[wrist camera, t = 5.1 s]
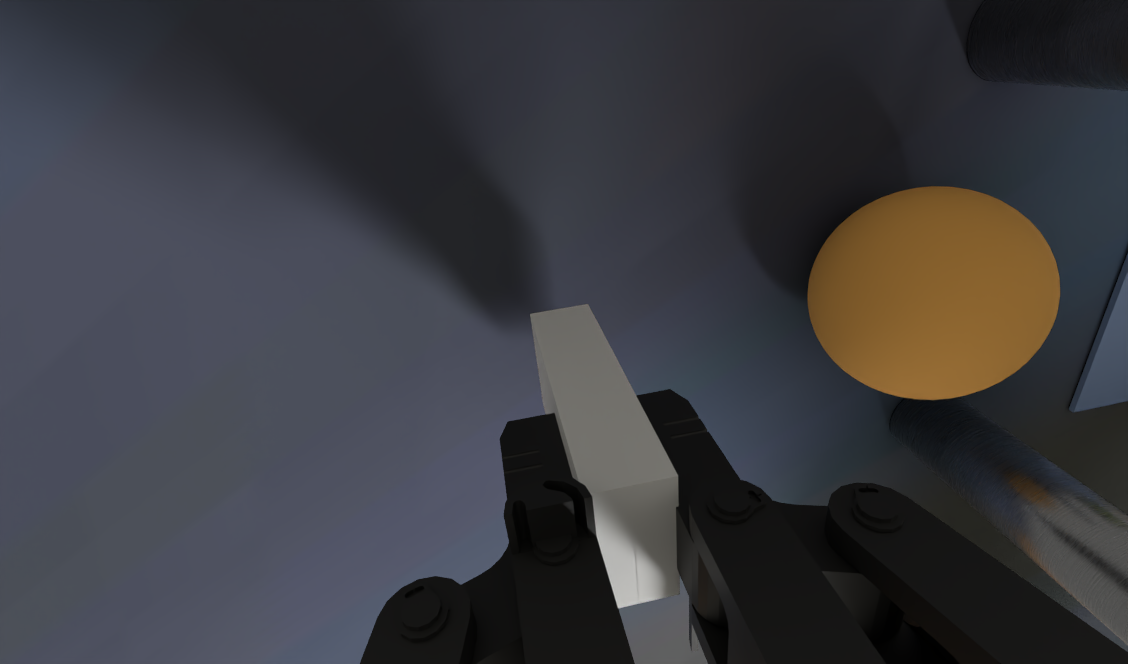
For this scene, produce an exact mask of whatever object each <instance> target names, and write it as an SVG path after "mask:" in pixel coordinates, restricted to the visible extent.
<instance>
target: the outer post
mask: <svg viewBox="0 0 1128 664" xmlns="http://www.w3.org/2000/svg"><path fill="white" fill-rule="evenodd" d="M967 54H968V59H969V63H970V65H971V67H972V69H973V71H974V72H975V73H976V74H977V75H978V76H979V77H981V78H983V79H984V80H988V81H995V82H1009V83H1023V84H1037V85H1051V86H1065V87H1079V88H1093V89H1107V90H1121V91H1128V0H984V2H983V3H982V5H981V6H980V8H979V9H978V11H977V13H976V15H975V17H974V19H973V22H972V25H971V27H970V31H969V35H968V41H967Z"/></svg>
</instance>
